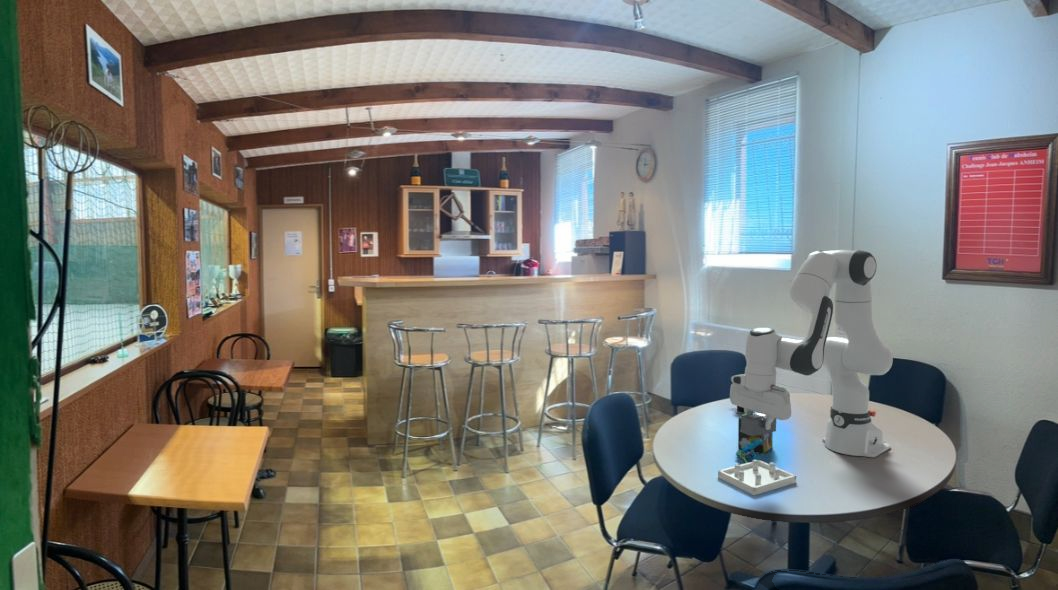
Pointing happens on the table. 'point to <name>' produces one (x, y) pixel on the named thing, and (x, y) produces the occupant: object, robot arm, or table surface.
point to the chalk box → (747, 439)
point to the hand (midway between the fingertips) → (758, 426)
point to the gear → (749, 450)
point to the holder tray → (751, 478)
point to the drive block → (755, 424)
